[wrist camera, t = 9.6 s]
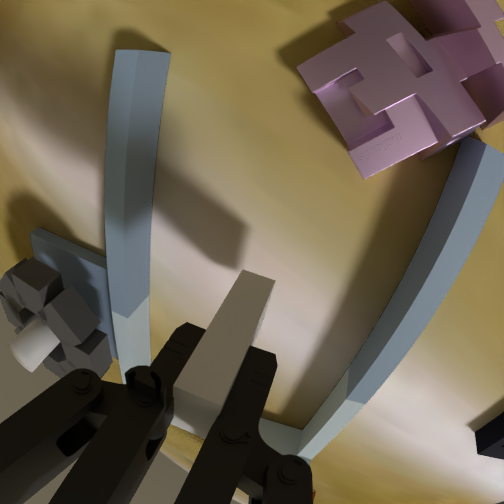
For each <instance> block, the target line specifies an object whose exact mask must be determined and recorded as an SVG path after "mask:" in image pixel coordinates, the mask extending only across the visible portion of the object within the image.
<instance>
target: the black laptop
mask: <svg viewBox="0 0 504 504" xmlns="http://www.w3.org/2000/svg"><path fill="white" fill-rule="evenodd" d="M475 438H476V446H477V454H479V455H484V456H489V457H493V458H498V459H504V412H503V413H502V414H500V415H499V416H498V417H496V418H495V419H493V420H492V421H491V422H489V423H488V424H486V425H485V426H484V427H482V428H481V429H479V430H478V431H476V432H475Z"/></svg>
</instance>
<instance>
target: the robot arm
mask: <svg viewBox="0 0 504 504" xmlns="http://www.w3.org/2000/svg"><path fill="white" fill-rule="evenodd" d="M274 284H275V280H272V279H269V278H266V277H263V276H260V275H257V274H255V273H252V272H249V271H246V270H242V271H241V273H240V275H239V276H238V278H237V280H236V281H235V283H234V285H233V287H232V288H231V290H230V292H229V293H228V295H227V297H226V298H225V300H224V302H223V303H222V305H221V307H220V308H219V310H218V312H217V313H216V315H215V317H214V318H213V320H212V322H211V323H210V325H209V327H208V328H207V330H205V329H203V328H200V327H198V326H195V325H193V324H190V323H188V322H186V323H185V324H183V325H181V326H180V327H178V328H176V330H175V331H174V332H173V334H172V335H171V337H170V338H169V340H168V341H167V342H166V344H165V345H164V347H163V348H162V349H161V351H160V352H159V354H158V355H157V357H156V358H155V359H154V361H153V362H152V364H151V365H150V366H147V365H138V366H135V367H132V368H130V369H129V370H128V371H127V372H125V373H124V374H125V379H126V384H117V383H112V382H108V381H103V380H101V379H100V377H99V376H98V375H97V373H95V372H94V371H92V370H90V369H86V368H80V369H75V370H73V371H71V372H70V373H68V374H67V375H65V376H64V377H63V378H61V379H60V380H59V381H57V382H56V383H55V384H53V385H52V386H50V387H49V388H48V389H46V390H45V391H44V392H42V393H41V394H40V395H38V396H37V397H36V398H34V399H33V400H32V401H30V402H29V403H27V404H26V405H25V406H23V407H22V408H21V409H20V410H18V411H17V412H15V413H14V414H13V415H11V416H10V417H9V418H7V419H6V420H5V421H3V422H2V423H1V424H0V504H23V503H24V502H25V501H27V500H28V499H29V498H30V497H32V496H33V495H34V494H35V493H37V492H38V491H39V490H40V489H41V488H43V487H44V486H45V485H46V484H48V483H49V482H50V481H51V480H53V479H54V478H55V477H56V476H57V475H58V474H60V473H61V472H62V471H63V470H64V469H66V468H67V467H68V466H69V465H70V464H71V463H73V462H74V461H75V460H76V459H77V458H78V460H77V462H76V463H75V464H74V466H73V467H72V469H71V470H70V472H69V473H68V475H67V476H66V478H65V479H64V481H63V482H62V484H61V485H60V487H59V488H58V490H57V491H56V493H55V494H54V496H53V497H52V499H51V500H50V502H49V504H129V503H130V501H131V499H132V498H133V496H134V494H135V493H136V491H137V489H138V487H139V485H140V484H141V482H142V480H143V478H144V476H145V475H146V473H147V471H148V469H149V467H150V465H151V464H152V462H153V460H154V458H155V456H156V455H157V453H158V451H159V449H160V447H161V446H162V444H163V442H164V440H165V438H166V435H167V429H168V427H169V425H170V423H171V422H172V420H173V425H175V426H177V427H179V428H181V429H184V430H186V431H188V432H191V433H193V434H196V435H198V436H201V437H203V438H206V439H205V441H204V443H203V445H202V447H201V449H200V451H199V453H198V455H197V458H196V460H195V462H194V464H193V466H192V468H191V470H190V472H189V474H188V476H187V478H186V480H185V483H184V484H183V486H182V488H181V491H180V493H179V495H178V497H177V499H176V501H175V503H174V504H230V502H231V500H232V497H233V495H234V492H235V490H236V487H237V488H239V489H240V490H242V491H243V492H245V493H246V494H247V495H249V503H248V504H313V486H312V472H311V468H310V466H309V465H308V463H307V462H306V461H305V460H304V459H302V458H301V457H299V456H296V455H291V454H287V455H282V454H280V453H279V452H277V451H276V450H274V449H273V448H271V447H270V446H269V445H267V444H266V443H265V442H264V440H263V439H262V438H261V435H260V433H259V421H260V418H261V415H262V412H263V409H264V406H265V403H266V400H267V397H268V394H269V391H270V388H271V385H272V382H273V379H274V376H275V373H276V370H277V360H276V355H275V354H273V353H270V352H267V351H264V350H262V349H259V348H256V347H253V345H254V342H255V340H256V338H257V335H258V333H259V330H260V328H261V325H262V322H263V319H264V316H265V313H266V310H267V307H268V303H269V300H270V297H271V294H272V291H273V288H274Z"/></svg>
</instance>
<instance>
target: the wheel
mask: <svg viewBox="0 0 504 504" xmlns="http://www.w3.org/2000/svg"><path fill="white" fill-rule="evenodd" d="M0 290H1V291H0V299H1V302H2V305H3V308H4V310H5V313H6V315H7V318H8V321H9V322H11V323H12V324H13V325H14V326H16V327H17V329H16V330H15V332H16V333H17V335H18V334H19V333H20V332H21V331H22V330H23V329H24V328H25V327H26V326H27V325H28V324H29V323H31V322H32V321H33V320H34V319H35V318H36V317H37V316H39V317H40V318H42V319H43V320H44V322H45V323H46V324H47V326H48V327H49V328H50V329H51V331H52V332H53V333H54V334H55V336H56V337H57V338H58V339H59V341H60V343H59V344H58V345H57V346H56V347H55V348H54V349H53V350H52V351H51V352H50V353H49V355H48V356H47V357H46V358H45V359H44V360H43V364H44V366H45V367H46V368H47V369H49V370H50V371H51V372H53V373H55V374H56V375H57V376H59V377H60V378H63V377H64V376H65V375H67V374H68V373H70V372H71V371H73V370H75V369H80V368H86V369H90V370H92V371H94V372H95V373H97V375H98V376H99V377H100V379H101V378H102V377H103V375H104V374H105V373H106V372H107V370H108V369H109V368H110V367H109V366H110V365H111V364H112V362H113V361H112V356H111V351H110V346H109V340H108V334H106V333H104V332H102V331H100V330H98V329H97V328H96V327H97V326H98V325H99V324H100V323H101V321H100V320H99V319H98V318H97V316H96V315H95V314H94V312H93V311H92V310H91V309H90V307H89V306H88V305H87V303H86V302H85V301H84V299H83V298H82V297H81V295H80V294H79V293H78V291H77V290H76V289H75V287H74V286H73V284H71V285H69V286H68V287H67V288H65V289H64V286H63V281H62V276H61V273H60V272H58V271H56V270H54V269H52V268H50V267H49V266H47V265H45V264H43V263H42V262H40V261H38V260H36V259H35V258H33V257H32V258H31V259H29V260H27V258H25V259H23V260H22V261H20V262H19V263H18V264H16V265H15V266H14V267H12V268H11V269H10V270H8V271H7V272H6V273H5V274H4V276H3V277H2V279H1V281H0Z"/></svg>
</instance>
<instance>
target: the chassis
mask: <svg viewBox="0 0 504 504" xmlns="http://www.w3.org/2000/svg"><path fill="white" fill-rule="evenodd" d="M170 56H171V53H166V52H156V51H146V50H116V53H115V59H114V66H113V73H112V81H111V89H110V98H109V108H108V120H107V134H106V152H105V236H106V255H107V258H106V257H104V256H101V255H99V254H97V253H94V252H92V251H90V250H88V249H85V248H83V247H81V246H79V245H77V244H74V243H72V242H70V241H68V240H66V239H64V238H61V237H59V236H57V235H55V234H53V233H51V232H49V231H46V230H44V229H42V228H40V227H38V228H36V229H34V230H33V231H31V232H30V238H31V243H32V249H33V254H34V258H35V259H36V260H38V261H40V262H42V263H43V264H45V265H47V266H49V267H50V268H52V269H54V270H56V271H58V272H60V273H61V276H62V281H63V286H64V289H65V288H67V287H68V286H69V285H71V284H73V286H74V287H75V289H76V290H77V291H78V293H79V294H80V295H81V297H82V298H83V299H84V301H85V302H86V303H87V305H88V306H89V307H90V309H91V310H92V311H93V312H94V314H95V315H96V316H97V318H98V319H99V320H100V321H101V323H100V324H99V325H98V326H97V327H96V328H97V329H98V330H100V331H102V332H104V333H106V334H108V340H109V346H110V351H111V356H113V357H114V358H116V359H118V360H119V364H120V369H121V375H122V380H123V384H126V379H125V374H124V373H125V372H127V371H128V370H129V369H130V368H132V367H135V366H138V365H147V366H150V365H151V352H150V320H149V267H150V235H151V215H152V199H153V186H154V174H155V163H156V153H157V144H158V135H159V127H160V119H161V112H162V104H163V98H164V91H165V85H166V79H167V73H168V67H169V61H170ZM503 180H504V154H503V153H501V152H500V151H498V150H496V149H495V148H493V147H491V146H489V145H488V144H486V143H483V142H481V141H479V140H477V139H474V138H472V137H470V136H467V137H466V138H465V139H464V140H462V141H461V143H460V146H459V149H458V152H457V155H456V158H455V161H454V163H453V166H452V169H451V171H450V174H449V177H448V179H447V182H446V184H445V187H444V189H443V192H442V194H441V197H440V199H439V202H438V204H437V206H436V209H435V211H434V213H433V215H432V218H431V220H430V222H429V224H428V227H427V229H426V231H425V233H424V235H423V237H422V240H421V242H420V244H419V246H418V248H417V250H416V252H415V254H414V256H413V258H412V260H411V262H410V264H409V266H408V268H407V270H406V272H405V274H404V276H403V278H402V279H401V281H400V283H399V285H398V287H397V289H396V291H395V292H394V294H393V296H392V298H391V300H390V301H389V303H388V305H387V307H386V308H385V310H384V312H383V313H382V315H381V317H380V319H379V320H378V322H377V324H376V325H375V327H374V329H373V330H372V332H371V334H370V335H369V337H368V338H367V340H366V342H365V343H364V345H363V346H362V348H361V349H360V351H359V353H358V354H357V356H356V357H355V359H354V360H353V362H352V363H351V365H350V366H349V368H348V369H347V371H346V372H345V374H344V375H343V376H342V378H341V379H340V381H339V382H338V384H337V385H336V387H335V388H334V389H333V391H332V392H331V394H330V395H329V396H328V398H327V399H326V400H325V402H324V403H323V404H322V406H321V407H320V408H319V410H318V411H317V412H316V414H315V415H314V416H313V418H312V419H311V420H310V422H309V423H308V424H307V425H306V427H305V428H304V429H303V430H300V429H297V428H293V427H290V426H286V425H283V424H280V423H277V422H273V421H270V420H267V419H264V418H260V421H259V433H260V435H261V438H262V439H263V440H264V442H265V443H266V444H267V445H269V446H270V447H271V448H273V449H274V450H276V451H277V452H279V453H280V454H282V455H287V454H291V455H296V456H299V457H301V458H302V459H304V460H305V461H306V462H307V463H308V465H309V466H310V462H311V459H313V458H314V457H315V456H316V455H317V454H318V453H319V452H320V451H321V450H322V449H323V448H324V447H325V446H326V445H327V444H328V443H329V442H330V441H331V440H332V439H333V438H334V437H335V436H336V435H337V434H338V433H339V432H340V431H341V430H342V429H343V428H344V427H345V426H346V425H347V424H348V423H349V422H350V421H351V420H352V418H353V417H354V416H355V415H356V414H357V413H358V412H359V411H360V410H361V409H362V407H363V406H364V405H365V404H366V403H367V402H368V401H369V400H370V398H371V397H372V396H373V395H374V394H375V393H376V391H377V390H378V389H379V388H380V387H381V385H382V384H383V383H384V382H385V381H386V379H387V378H388V377H389V376H390V374H391V373H392V372H393V371H394V369H395V368H396V367H397V365H398V364H399V363H400V362H401V360H402V359H403V358H404V356H405V355H406V354H407V352H408V351H409V350H410V348H411V347H412V345H413V344H414V343H415V341H416V340H417V338H418V337H419V336H420V334H421V333H422V331H423V330H424V328H425V327H426V325H427V324H428V323H429V321H430V320H431V318H432V317H433V315H434V313H435V312H436V310H437V309H438V307H439V306H440V304H441V303H442V301H443V299H444V298H445V296H446V294H447V293H448V291H449V290H450V288H451V286H452V284H453V283H454V281H455V279H456V278H457V276H458V274H459V272H460V271H461V269H462V267H463V265H464V263H465V262H466V260H467V258H468V256H469V254H470V252H471V250H472V248H473V247H474V245H475V243H476V241H477V239H478V237H479V235H480V233H481V231H482V228H483V226H484V224H485V222H486V220H487V218H488V216H489V213H490V211H491V209H492V207H493V204H494V202H495V200H496V197H497V195H498V193H499V190H500V188H501V185H502V183H503ZM59 343H60V341H59V339H58V338H57V337H56V336H55V334H54V333H53V332H52V331H51V329H50V328H49V327H48V326H47V324H46V323H45V322H44V320H43V319H42V318H40V317H39V316H37V317H36V318H35V319H34V320H33V321H32V322H31V323H29V324H28V325H27V326H26V327H25V328H24V329H23V330H22V331H21V332H20V333H19V334H18V335H17V336H16V337H15V338H14V339H13V340H12V341H11V342H10V343H9V348H10V350H11V352H12V353H13V355H14V356H15V358H16V359H17V360H18V361H19V362H20V364H21V365H22V366H24V367H25V368H26V369H27V370H29V371H30V372H33V371H34V370H35V369H36V367H37V366H38V365H39V364H40V363H41V362H42V361H43V360H44V359H45V358H46V357H47V356H48V355H49V353H50V352H51V351H52V350H53V349H54V348H55V347H56V346H57V345H58V344H59ZM170 424H172V425H173V420H172V422H171V423H170ZM174 426H175V425H174ZM183 430H184V429H183ZM190 433H191V432H190ZM195 435H196V434H195ZM200 437H201V436H200ZM205 439H206V438H205Z"/></svg>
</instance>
